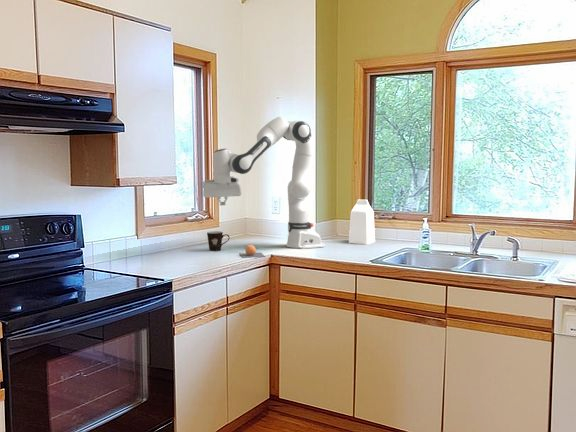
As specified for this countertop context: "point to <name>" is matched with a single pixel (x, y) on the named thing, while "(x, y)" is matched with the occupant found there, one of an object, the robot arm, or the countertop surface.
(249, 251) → the ball
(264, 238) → the countertop surface
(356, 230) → the milk
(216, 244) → the coffee mug
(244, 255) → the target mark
